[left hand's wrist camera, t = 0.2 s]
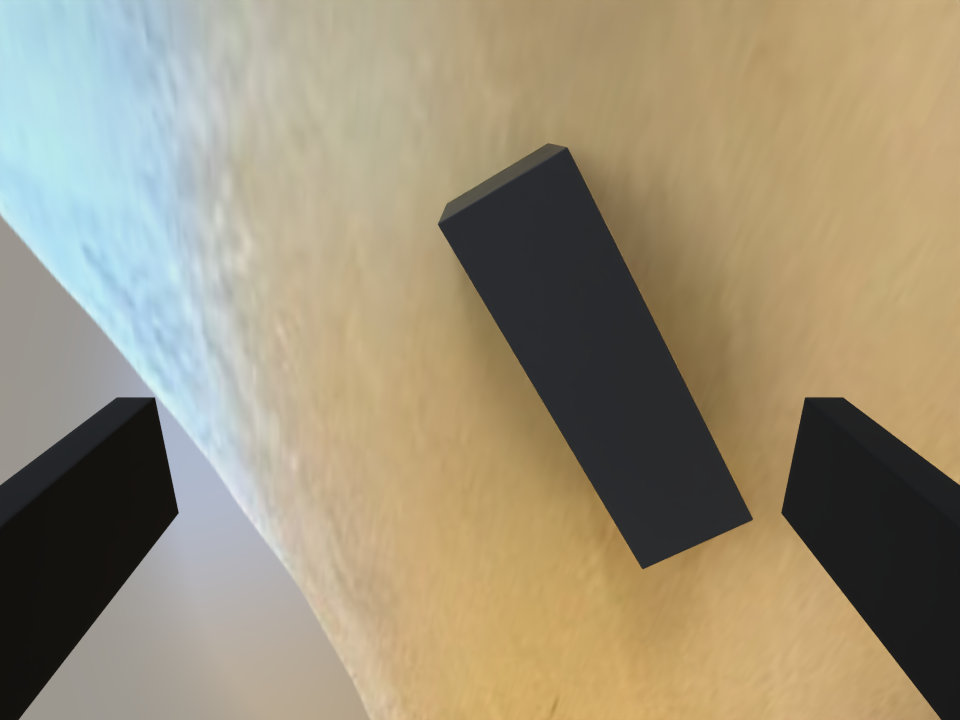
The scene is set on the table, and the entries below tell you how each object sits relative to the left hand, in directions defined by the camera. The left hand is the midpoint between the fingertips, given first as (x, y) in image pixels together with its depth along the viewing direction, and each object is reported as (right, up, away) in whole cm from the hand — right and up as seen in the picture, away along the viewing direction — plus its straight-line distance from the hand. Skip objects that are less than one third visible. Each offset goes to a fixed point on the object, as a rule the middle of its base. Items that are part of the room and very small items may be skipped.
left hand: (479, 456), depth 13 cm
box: (+7, +4, +29) cm, 31 cm away
